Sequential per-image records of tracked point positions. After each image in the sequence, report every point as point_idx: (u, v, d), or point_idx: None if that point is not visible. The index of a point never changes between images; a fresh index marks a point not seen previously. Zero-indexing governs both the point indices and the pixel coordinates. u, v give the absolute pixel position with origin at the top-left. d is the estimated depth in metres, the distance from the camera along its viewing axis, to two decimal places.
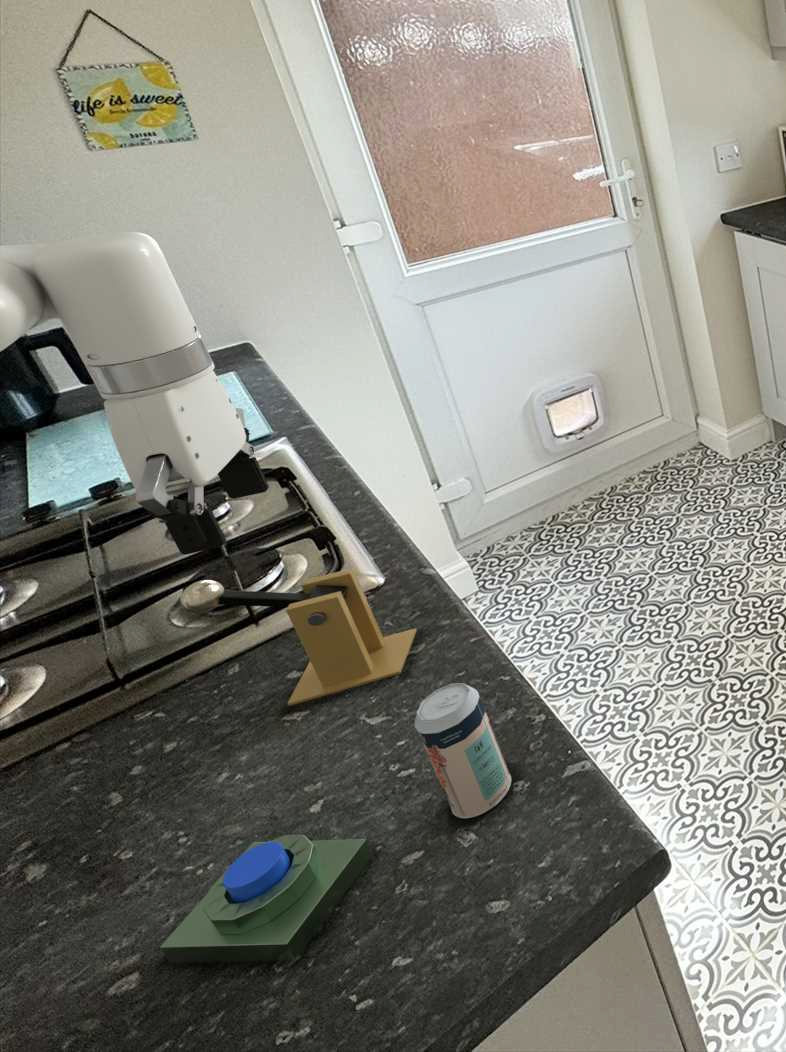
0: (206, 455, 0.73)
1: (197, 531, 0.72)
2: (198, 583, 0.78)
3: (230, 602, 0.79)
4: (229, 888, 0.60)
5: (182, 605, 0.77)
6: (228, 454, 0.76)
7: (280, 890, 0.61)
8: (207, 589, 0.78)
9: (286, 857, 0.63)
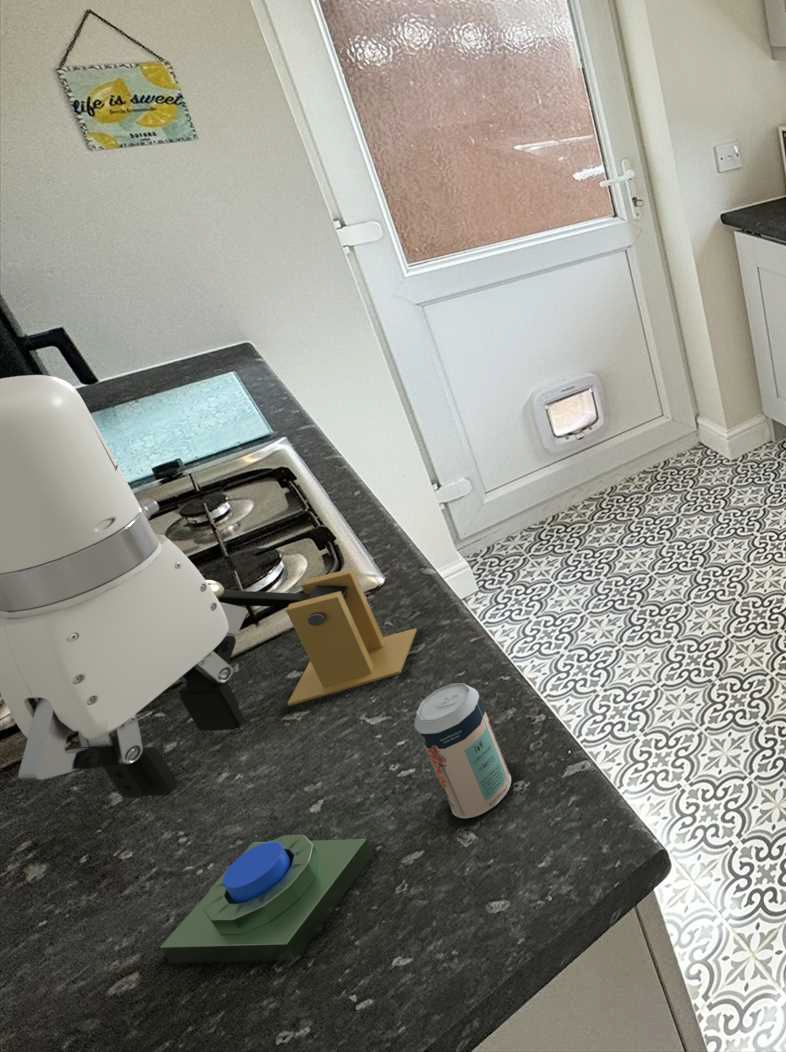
0: (114, 692, 0.51)
1: (132, 780, 0.53)
2: None
3: (230, 602, 0.79)
4: (229, 888, 0.60)
5: None
6: (173, 673, 0.55)
7: (280, 890, 0.61)
8: None
9: (286, 857, 0.63)
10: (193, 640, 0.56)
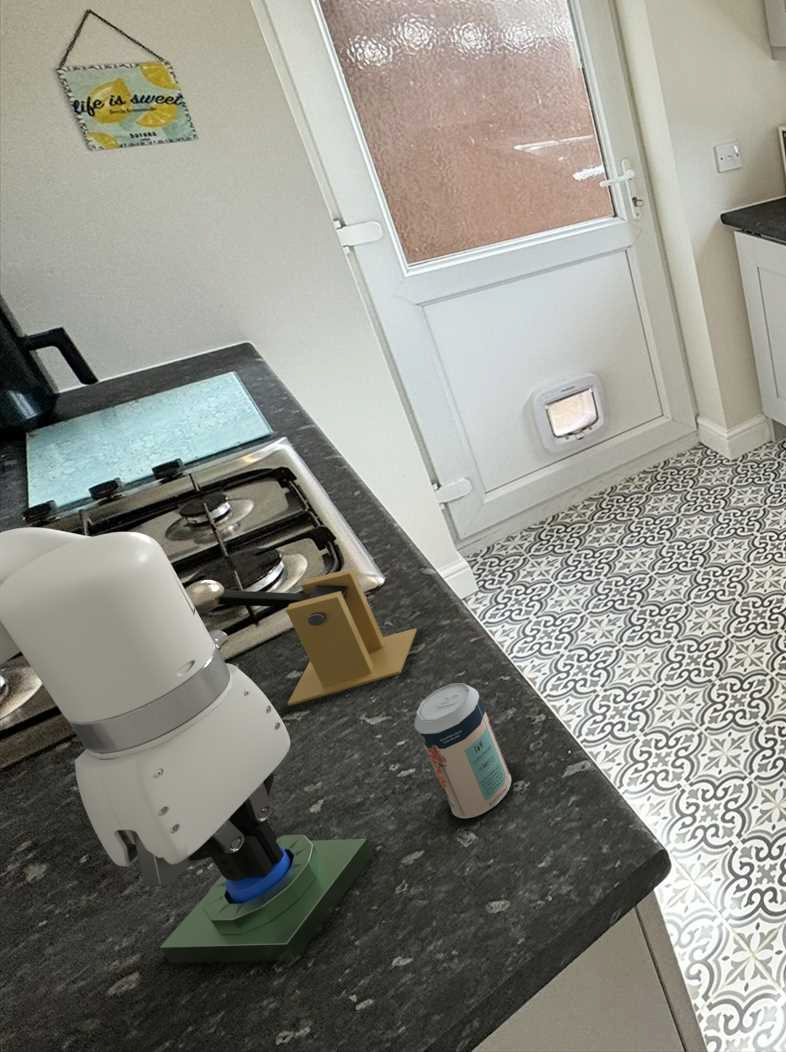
0: (194, 819, 0.56)
1: (235, 866, 0.60)
2: (198, 583, 0.78)
3: (230, 602, 0.79)
4: (231, 892, 0.61)
5: None
6: (243, 793, 0.59)
7: (280, 890, 0.61)
8: (207, 589, 0.78)
9: (288, 861, 0.63)
10: (260, 760, 0.61)
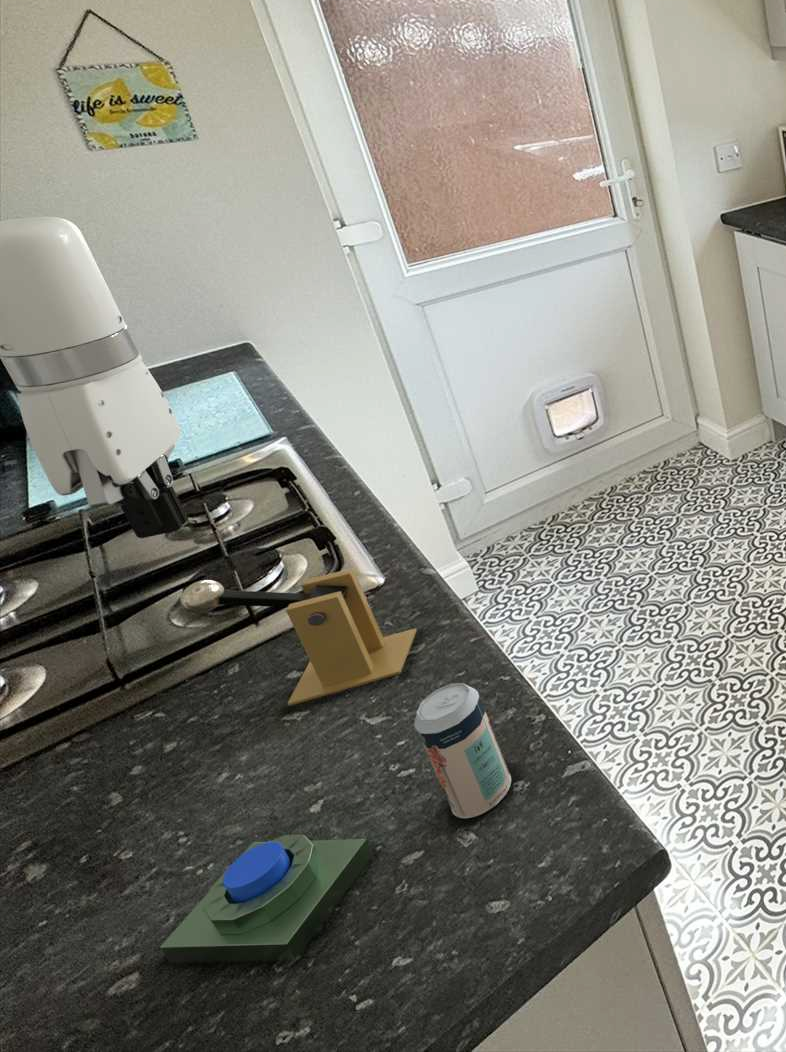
0: (129, 451, 0.70)
1: (152, 515, 0.73)
2: (198, 583, 0.78)
3: (230, 602, 0.79)
4: (229, 888, 0.60)
5: (182, 605, 0.77)
6: (156, 450, 0.73)
7: (280, 890, 0.61)
8: (207, 589, 0.78)
9: (286, 857, 0.63)
10: (164, 430, 0.74)
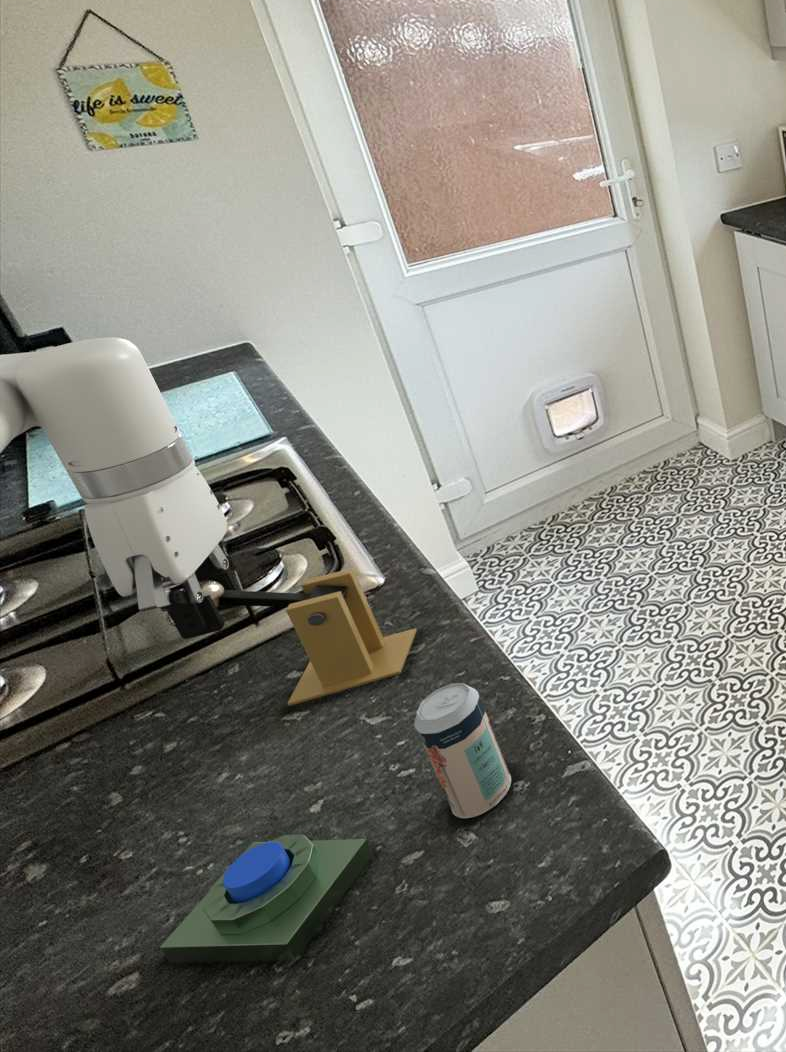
0: (185, 552, 0.74)
1: (197, 618, 0.77)
2: None
3: (230, 602, 0.79)
4: (229, 888, 0.60)
5: None
6: (208, 547, 0.78)
7: (280, 890, 0.61)
8: (207, 589, 0.78)
9: (286, 857, 0.63)
10: (214, 527, 0.79)
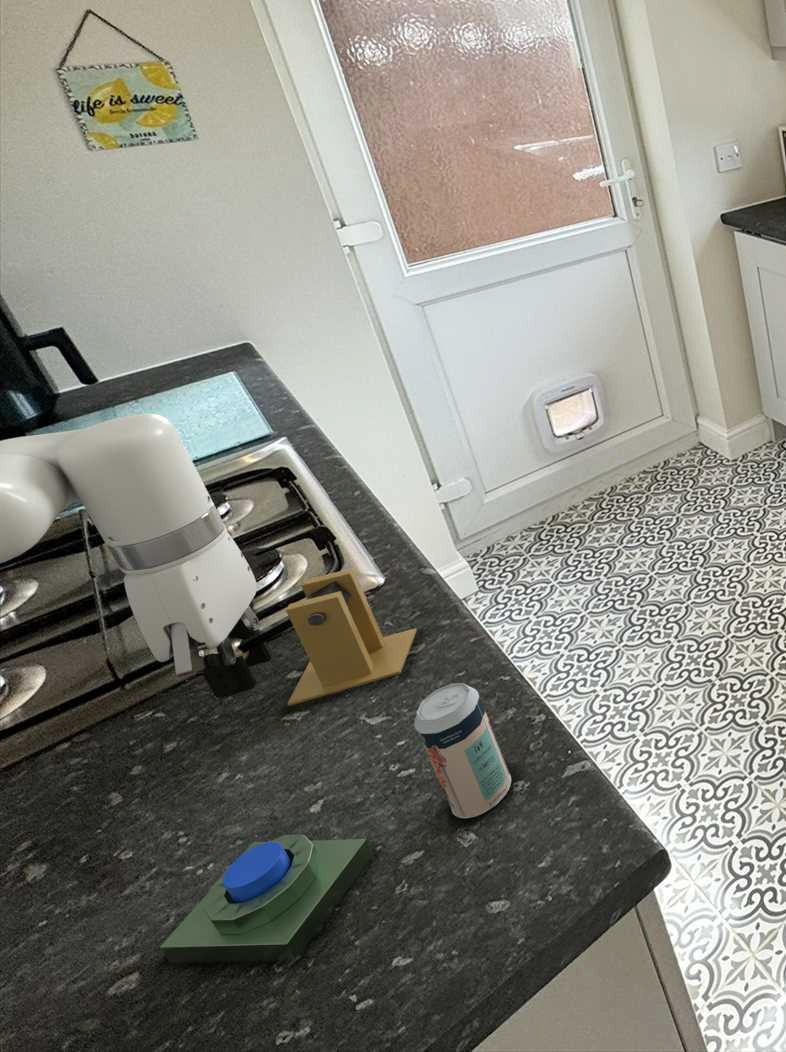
0: (219, 617, 0.77)
1: (230, 678, 0.79)
2: None
3: (250, 646, 0.81)
4: (229, 888, 0.60)
5: None
6: (240, 609, 0.81)
7: (280, 890, 0.61)
8: None
9: (286, 857, 0.63)
10: (245, 589, 0.82)
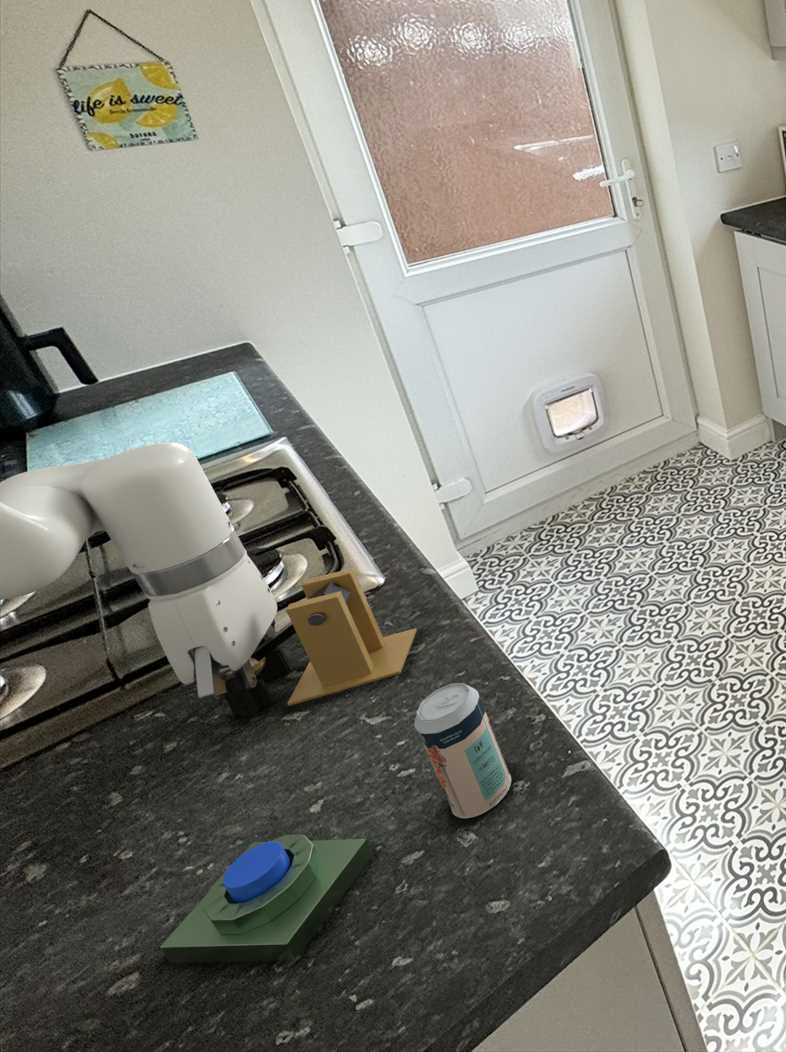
0: (241, 640, 0.79)
1: (251, 701, 0.81)
2: None
3: (262, 653, 0.82)
4: (229, 888, 0.60)
5: None
6: (261, 631, 0.82)
7: (280, 890, 0.61)
8: None
9: (286, 857, 0.63)
10: (265, 611, 0.83)
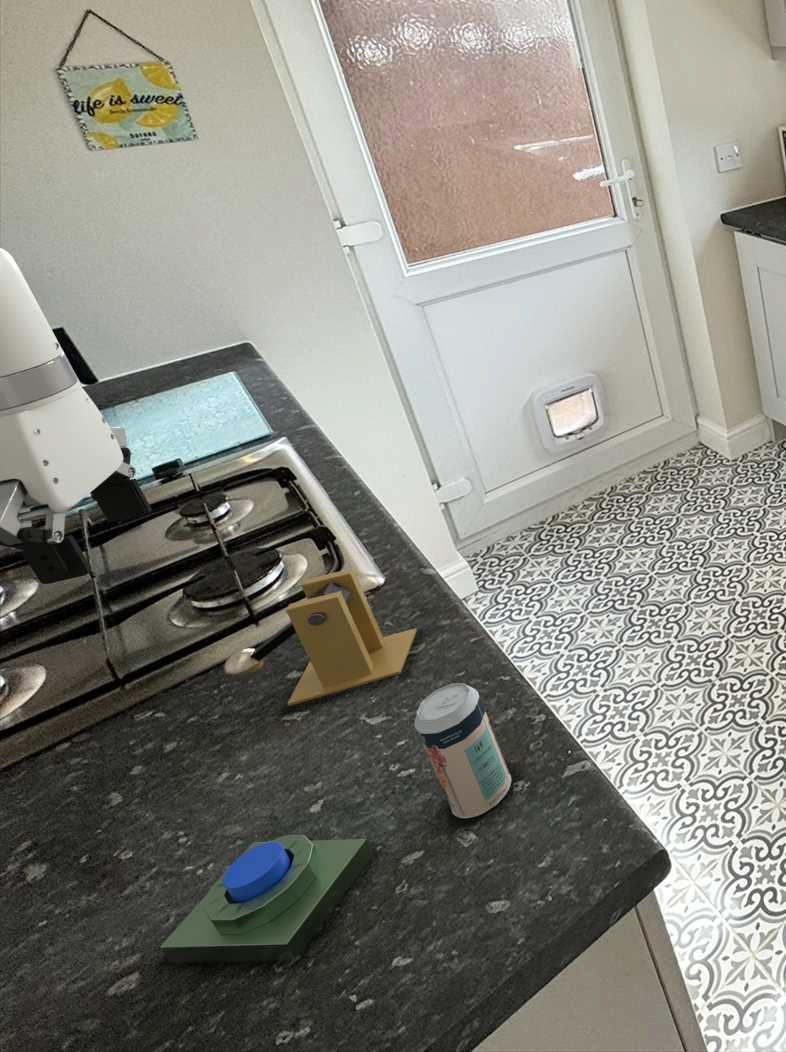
0: (67, 479, 0.69)
1: (56, 560, 0.68)
2: (226, 661, 0.81)
3: (262, 653, 0.82)
4: (229, 888, 0.60)
5: (232, 680, 0.81)
6: (97, 477, 0.72)
7: (280, 890, 0.61)
8: (233, 660, 0.81)
9: (286, 857, 0.63)
10: (105, 457, 0.74)
